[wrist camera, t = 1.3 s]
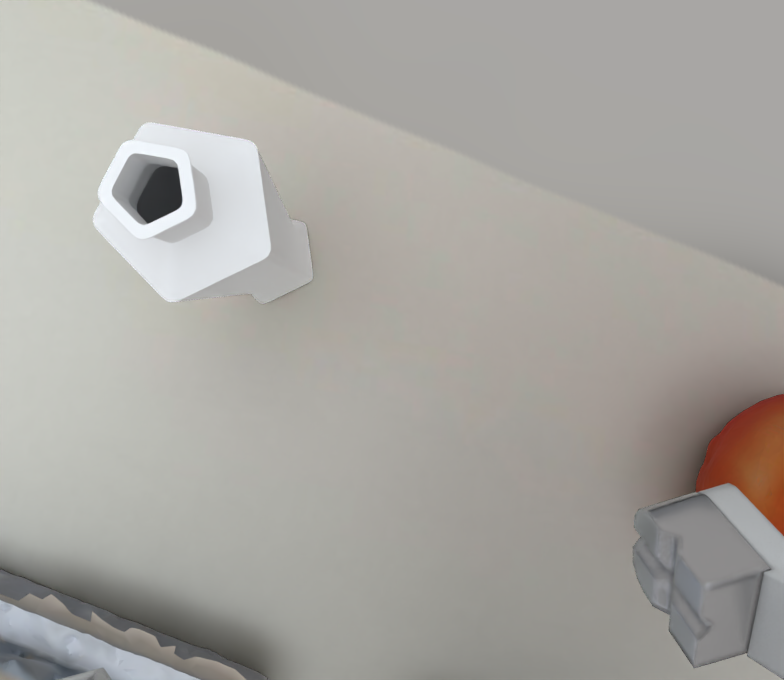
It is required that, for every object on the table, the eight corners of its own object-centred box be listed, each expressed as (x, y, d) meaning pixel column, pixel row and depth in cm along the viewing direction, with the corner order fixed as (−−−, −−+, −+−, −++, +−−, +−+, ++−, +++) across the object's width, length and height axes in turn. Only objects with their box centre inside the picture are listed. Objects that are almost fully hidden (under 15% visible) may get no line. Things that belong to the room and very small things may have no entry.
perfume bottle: (294, 330, 30) (196, 334, 15) (203, 282, 30) (17, 237, 15) (345, 235, 30) (296, 146, 15) (254, 186, 30) (116, 48, 15)
